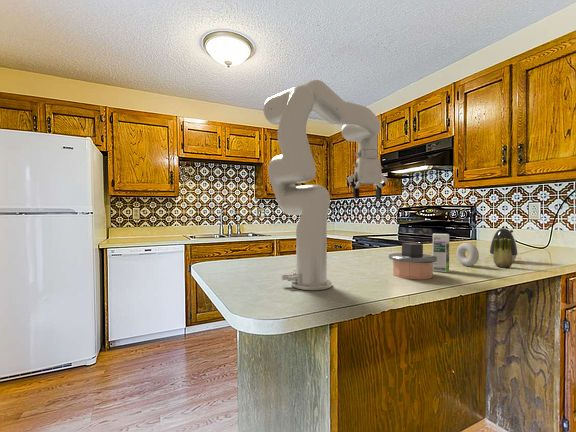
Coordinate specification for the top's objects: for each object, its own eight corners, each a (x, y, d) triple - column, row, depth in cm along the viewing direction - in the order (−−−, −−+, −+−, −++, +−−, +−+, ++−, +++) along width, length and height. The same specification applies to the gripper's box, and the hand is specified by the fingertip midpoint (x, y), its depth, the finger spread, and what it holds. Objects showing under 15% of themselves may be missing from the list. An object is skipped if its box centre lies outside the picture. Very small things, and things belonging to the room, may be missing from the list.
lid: (407, 263, 95) (407, 247, 94) (380, 256, 110) (380, 242, 110) (447, 261, 98) (447, 245, 98) (416, 254, 114) (416, 240, 114)
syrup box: (432, 271, 111) (432, 234, 111) (432, 268, 116) (432, 232, 116) (449, 272, 108) (449, 234, 108) (448, 270, 114) (448, 233, 113)
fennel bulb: (492, 266, 120) (492, 238, 120) (497, 265, 123) (498, 237, 122) (508, 269, 115) (508, 239, 115) (514, 267, 118) (514, 238, 117)
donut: (481, 268, 117) (481, 243, 117) (474, 268, 116) (474, 243, 116) (460, 263, 127) (460, 241, 127) (454, 264, 126) (454, 241, 126)
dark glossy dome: (523, 262, 129) (523, 228, 129) (505, 263, 127) (505, 229, 127) (501, 259, 139) (502, 227, 139) (484, 259, 137) (484, 228, 136)
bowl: (408, 280, 96) (408, 262, 96) (386, 272, 109) (386, 256, 109) (440, 278, 100) (440, 261, 100) (415, 270, 112) (415, 255, 112)
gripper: (352, 153, 109) (352, 198, 109) (392, 155, 113) (392, 198, 113) (343, 156, 116) (343, 199, 116) (381, 158, 120) (381, 199, 121)
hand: (367, 198), depth 115 cm, fingers open, 9 cm apart
